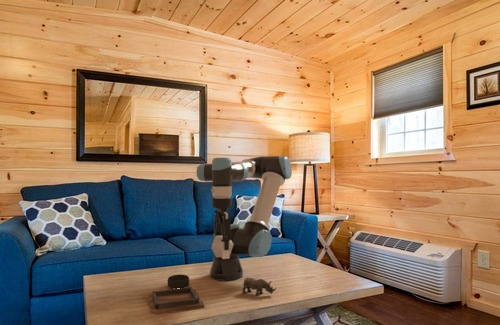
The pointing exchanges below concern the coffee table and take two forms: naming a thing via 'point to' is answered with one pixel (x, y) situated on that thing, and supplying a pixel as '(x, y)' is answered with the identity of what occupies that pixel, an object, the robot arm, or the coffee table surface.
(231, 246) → the die
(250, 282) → the rhino figurine
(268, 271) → the coffee table surface
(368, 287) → the coffee table surface
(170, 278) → the smart speaker
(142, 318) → the coffee table surface
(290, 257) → the coffee table surface
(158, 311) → the board
